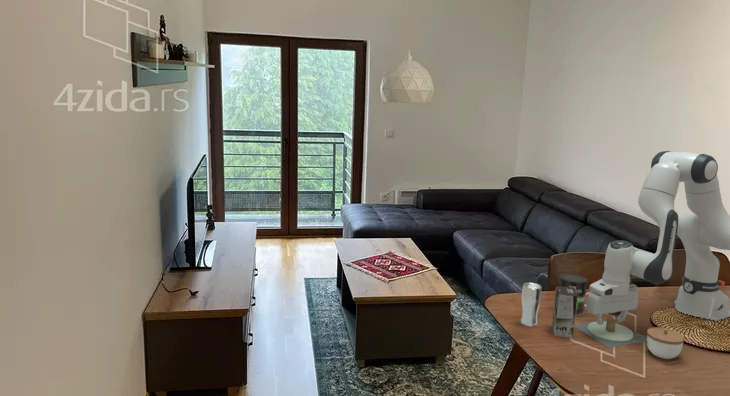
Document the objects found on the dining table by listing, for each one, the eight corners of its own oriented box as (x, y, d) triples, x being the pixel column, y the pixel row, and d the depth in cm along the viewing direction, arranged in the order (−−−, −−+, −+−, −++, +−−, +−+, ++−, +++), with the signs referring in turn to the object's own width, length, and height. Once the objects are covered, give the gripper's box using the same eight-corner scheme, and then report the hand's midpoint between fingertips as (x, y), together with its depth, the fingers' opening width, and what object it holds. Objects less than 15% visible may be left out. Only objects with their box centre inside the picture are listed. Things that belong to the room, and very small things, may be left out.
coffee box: (573, 339, 186) (577, 296, 183) (554, 337, 188) (558, 294, 185) (569, 328, 195) (574, 287, 192) (551, 326, 197) (555, 285, 193)
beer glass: (516, 319, 202) (519, 282, 199) (534, 319, 202) (537, 282, 199) (523, 327, 195) (526, 289, 192) (541, 327, 195) (545, 289, 192)
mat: (610, 320, 202) (610, 319, 202) (649, 341, 186) (649, 340, 186) (572, 326, 197) (572, 325, 196) (608, 348, 180) (608, 347, 180)
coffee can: (583, 318, 204) (587, 283, 201) (555, 313, 208) (559, 279, 205) (583, 308, 213) (587, 275, 211) (556, 304, 217) (560, 271, 214)
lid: (610, 321, 200) (611, 309, 199) (642, 339, 187) (644, 325, 186) (578, 326, 196) (579, 314, 195) (609, 344, 182) (610, 331, 181)
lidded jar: (666, 347, 182) (669, 321, 180) (688, 363, 172) (692, 336, 170) (637, 348, 181) (640, 323, 179) (658, 364, 170) (662, 337, 168)
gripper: (631, 280, 194) (626, 315, 196) (585, 285, 187) (581, 322, 190) (645, 286, 188) (639, 322, 191) (598, 292, 181) (594, 329, 184)
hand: (610, 322), depth 190 cm, fingers open, 8 cm apart
